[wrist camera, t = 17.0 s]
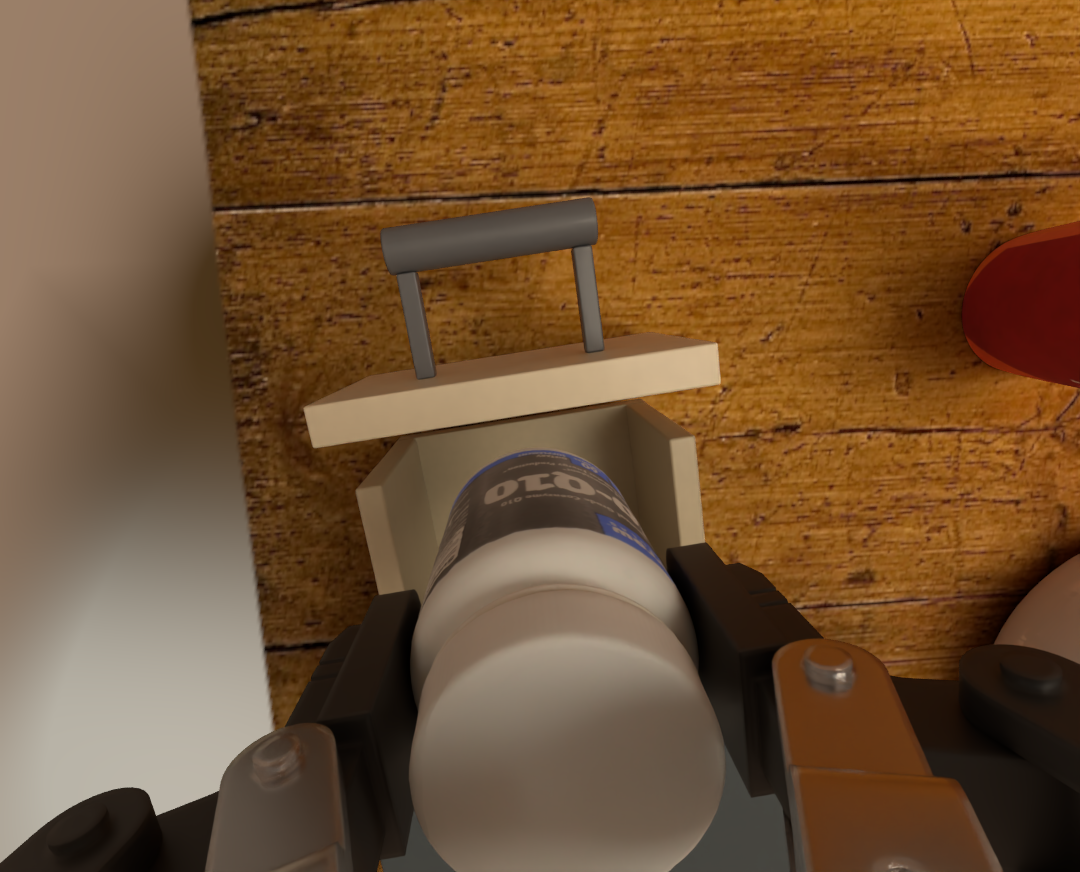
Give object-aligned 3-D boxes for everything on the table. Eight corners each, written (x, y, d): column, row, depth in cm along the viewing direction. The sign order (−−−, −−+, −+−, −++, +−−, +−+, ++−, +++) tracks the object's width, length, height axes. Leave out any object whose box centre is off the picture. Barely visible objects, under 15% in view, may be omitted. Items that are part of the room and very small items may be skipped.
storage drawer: (343, 255, 23) (258, 228, 15) (637, 210, 23) (702, 161, 15) (432, 671, 27) (400, 818, 19) (683, 629, 27) (753, 758, 19)
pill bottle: (651, 470, 15) (820, 658, 7) (597, 631, 16) (691, 964, 8) (472, 421, 15) (428, 565, 7) (427, 591, 16) (338, 903, 7)
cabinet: (405, 584, 27) (348, 737, 17) (682, 539, 27) (776, 665, 18) (462, 849, 30) (441, 1102, 20) (710, 807, 30) (802, 1038, 21)
